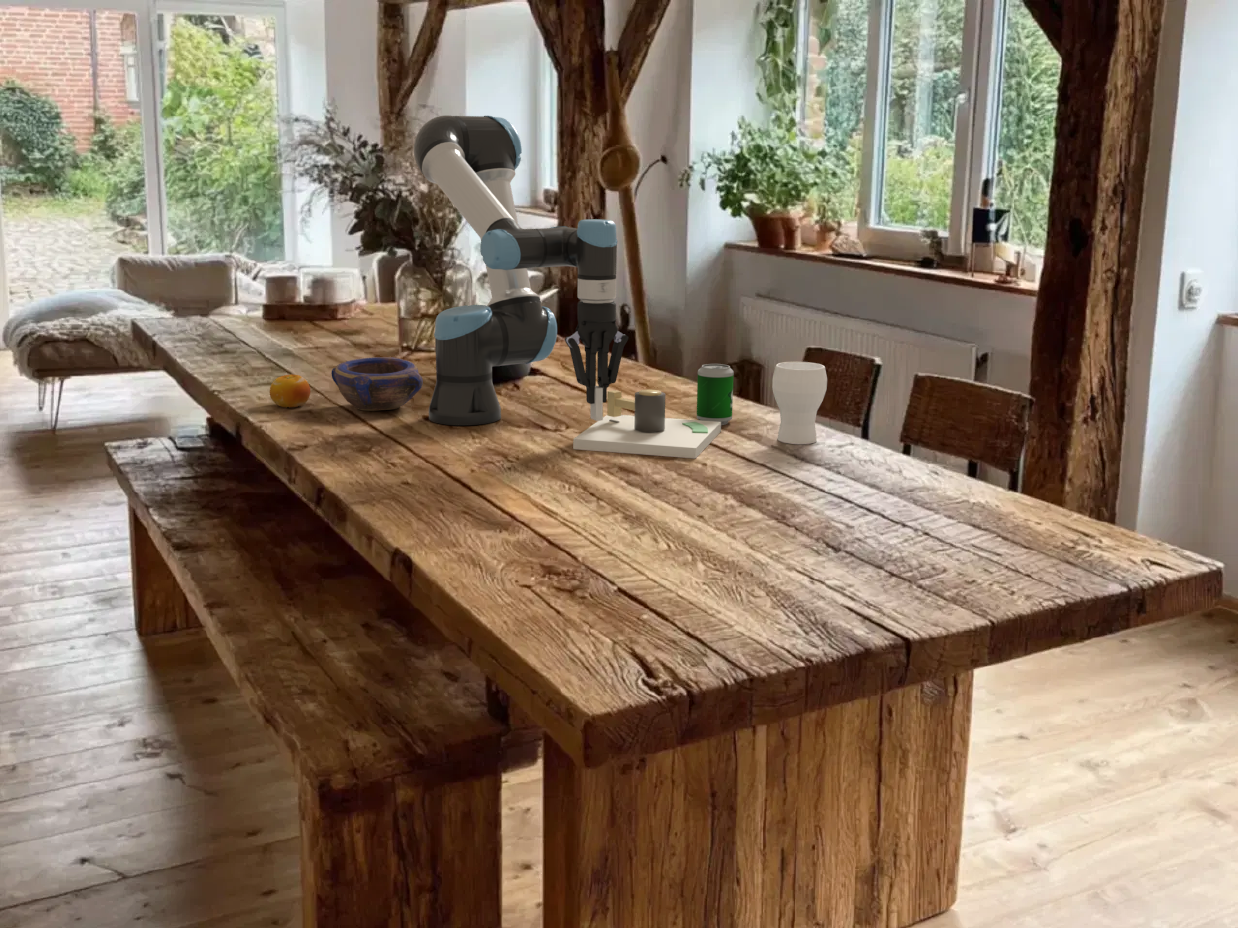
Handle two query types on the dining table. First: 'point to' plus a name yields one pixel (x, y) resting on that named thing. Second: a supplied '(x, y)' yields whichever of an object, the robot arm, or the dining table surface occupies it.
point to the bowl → (377, 382)
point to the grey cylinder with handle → (640, 408)
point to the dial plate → (648, 437)
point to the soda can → (715, 393)
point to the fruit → (290, 391)
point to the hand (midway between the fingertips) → (596, 419)
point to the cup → (798, 399)
